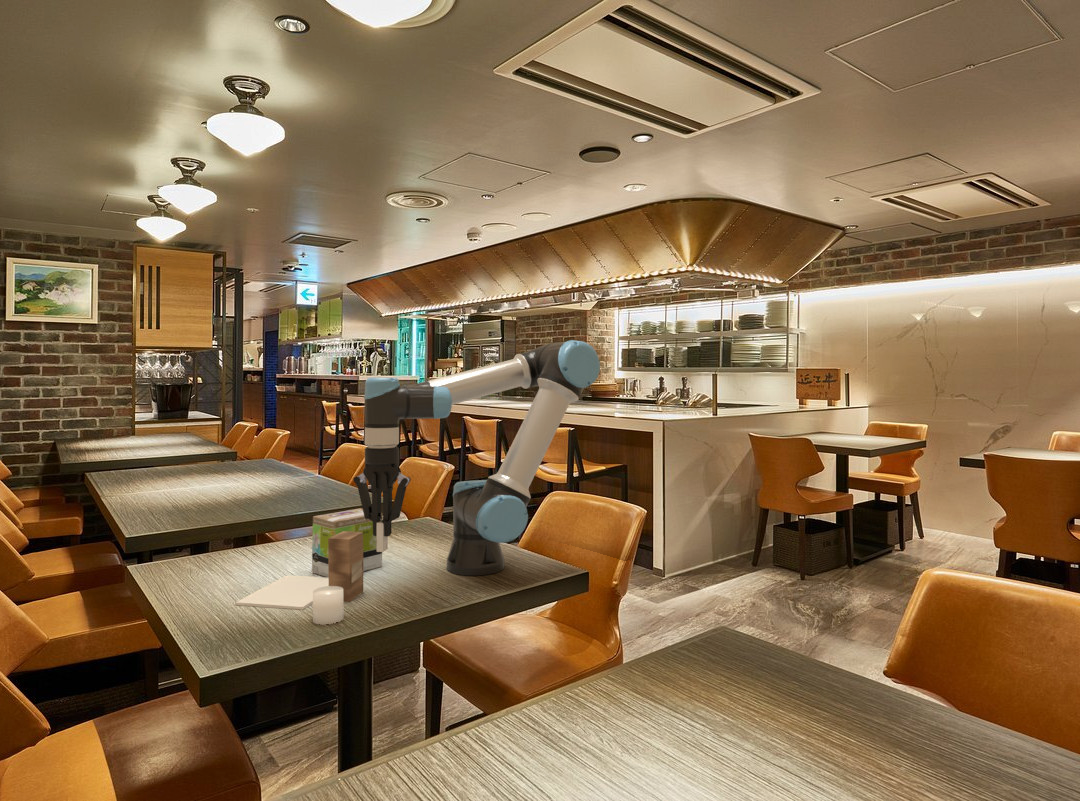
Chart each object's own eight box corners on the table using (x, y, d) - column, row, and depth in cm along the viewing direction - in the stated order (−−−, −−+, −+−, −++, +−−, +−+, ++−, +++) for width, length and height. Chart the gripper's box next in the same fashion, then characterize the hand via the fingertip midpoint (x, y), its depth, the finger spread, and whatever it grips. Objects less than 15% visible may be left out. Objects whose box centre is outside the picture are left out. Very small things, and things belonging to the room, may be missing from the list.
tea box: (335, 580, 159) (334, 521, 159) (311, 573, 166) (310, 515, 165) (383, 566, 171) (383, 511, 171) (359, 560, 177) (359, 506, 177)
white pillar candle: (348, 615, 136) (348, 586, 136) (334, 625, 130) (334, 596, 130) (322, 613, 137) (322, 585, 137) (307, 623, 131) (307, 594, 131)
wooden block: (364, 591, 151) (363, 532, 151) (350, 601, 144) (349, 539, 144) (343, 590, 152) (343, 531, 152) (328, 600, 145) (328, 538, 145)
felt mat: (346, 581, 159) (346, 578, 159) (303, 609, 139) (302, 607, 139) (286, 577, 162) (286, 575, 162) (235, 605, 142) (235, 602, 142)
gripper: (415, 445, 148) (415, 547, 149) (362, 443, 150) (362, 544, 151) (403, 448, 141) (403, 556, 141) (347, 447, 143) (347, 553, 144)
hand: (382, 550), depth 146 cm, fingers closed
